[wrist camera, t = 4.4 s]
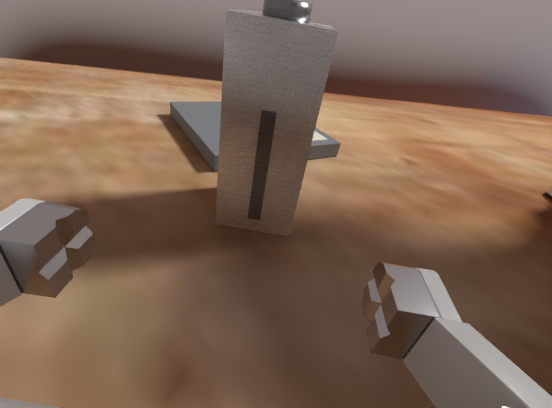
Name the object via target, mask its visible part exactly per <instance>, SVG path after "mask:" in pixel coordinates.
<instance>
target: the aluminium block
mask: <svg viewBox="0 0 552 408" xmlns="http://www.w3.org/2000/svg"><path fill="white" fill-rule="evenodd" d="M311 10H312V4H309V3H304V2H298V1H294V0H264V6H263V13H260V12H255V11H249V10H226V24H225V43H224V63H223V81H222V100H221V120H220V139H219V158H218V178H217V197H216V216H215V224H220V225H225V226H231V227H236V228H242V229H248V230H253V231H259V232H264V233H270V234H275V235H281V236H287V237H289V236H290V231H291V227H292V223H293V219H294V215H295V210H296V206H297V202H298V198H299V194H300V189H301V185H302V181H303V177H304V173H305V169H306V164H307V160H308V156H309V152H310V148H311V143H312V139H313V135H314V131H315V127H316V122H317V118H318V114H319V110H320V106H321V101H322V97H323V93H324V89H325V84H326V80H327V76H328V72H329V68H330V64H331V59H332V55H333V51H334V47H335V43H336V38H337V34H338V30H336V29H335V28H333V27H332V26H329V25H323V24H318V23H313V22H309V20H310V14H311Z"/></svg>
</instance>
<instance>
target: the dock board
mask: <svg viewBox="0 0 552 408" xmlns="http://www.w3.org/2000/svg"><path fill="white" fill-rule="evenodd" d="M170 112H171V116H172V117H173V119H174V120H175V121H176V122H177V124H178V125H179V126H180V128H181V129H182V130H183V131H184V133H185V134H186V135H187V137H188V138H189V139H190V141H191V142H192V143H193V144H194V146H195V147H196V148H197V150H198V151H199V152H200V153H201V155H202V156H203V157H204V159H205V160H206V161H207V162H208V164H209V165H210V166H211V168H212V169H213V170H214V172H216V171H218V158H219V139H220V120H221V102H170ZM339 147H340V143H339V142H338V141H336V140H335V139H333V138H331V137H330V136H328V135H327V134H325V133H323V132H322V131H320V130H319V129H317V128H316V127H315V131H314V135H313V139H312V143H311V148H310V152H309V156H308V160H310V159H318V158H325V157H333V156H337V153H338V150H339Z"/></svg>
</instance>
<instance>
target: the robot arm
mask: <svg viewBox="0 0 552 408" xmlns="http://www.w3.org/2000/svg"><path fill="white" fill-rule="evenodd" d="M547 193H548V194H549V195H551V196H552V187H551V188H550V189H549V190H548V191H547ZM89 222H90V219H89V216H88V213H87V211H85V210H84V209H82V208H77V207H72V206H67V205H62V204H57V203H52V202H47V201H46V202H45V201H40V200H35V199H31V198H25V199H20V200H18V201H17V202H15V203H14V204H12V205H11V206H9V207H8V208H6V209H4V210H3V211H1V212H0V306H2V305H4V304H6V303H8V302H9V301H11V300H13V299H15V298H17V297H18V296H20V295H22V293H26V294H33V295H40V296H47V297H54V298H56V296H57V295H58V294H59V293H60V292H61V291H62V290H63V289H64V287H65V286H66V285H67V284H68V283H69V282H70V281H71V279H72V278H73V270H75V269H78V268H80V267H82V266H84V265H85V263H86V262H87V261H88V260H89V259H90V257H91V255H92V252H93V250H94V244H95V239H94V235H93V233H92V232H91V231H90V230H89V229H88V228H87V227H86V226H87V224H88V223H89ZM373 274H374V279H372V280H371V281H369V282H367V285H366V287H365V289H364V293H363V299H362V303H363V312H364V316H365V317H366V318H367V319H368V321H369V322H370V324H369V326H368V328H367V334H368V339H369V344H370V350H371V353H374V354H379V355H384V356H388V357H393V358H398V359H403V362H404V364H405V365H406V367H407V368H408V369H409V371H410V372H411V374H412V375H413V377H414V378H415V379H416V381H417V382H418V384H419V385H420V386H421V388H422V389H423V391H424V392H425V394H426V395H427V396H428V398H429V399H430V401H431V402H432V403H433V405H434V406H435V408H552V396H551V395H549V394H548V393H547V392H546V391H545V390H544V389H543V388H541V387H540V386H539V385H538V384H537V383H536V382H535V381H533V380H532V379H531V378H530V377H529V376H528V375H527V374H525V373H524V372H523V371H522V370H521V369H520V368H519V367H517V366H516V365H515V364H514V363H513V362H512V361H511V360H510V359H508V358H507V357H506V356H505V355H504V354H503V353H502V352H500V351H499V350H498V349H497V348H496V347H495V346H494V345H492V344H491V343H490V342H489V341H488V340H487V339H486V338H484V337H483V336H482V335H481V334H480V333H479V332H478V331H477V330H475V329H474V328H473V327H472V326H471V325H470V324H468V323H463V322H462V320H461V318H460V316H459V314H458V312H457V310H456V308H455V306H454V304H453V302H452V300H451V298H450V296H449V294H448V292H447V290H446V288H445V286H444V284H443V282H442V280H441V278H440V276H439V275H438V273H436V272H435V271H434V270H428V269H421V268H413V267H408V266H402V265H396V264H390V263H384V262H379V263H378V264H377V265H376V266H375V268H374V270H373ZM0 408H62V407H56V406H50V405H44V404H39V403H33V402H27V401H21V400H15V399H9V398H3V397H0Z"/></svg>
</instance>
